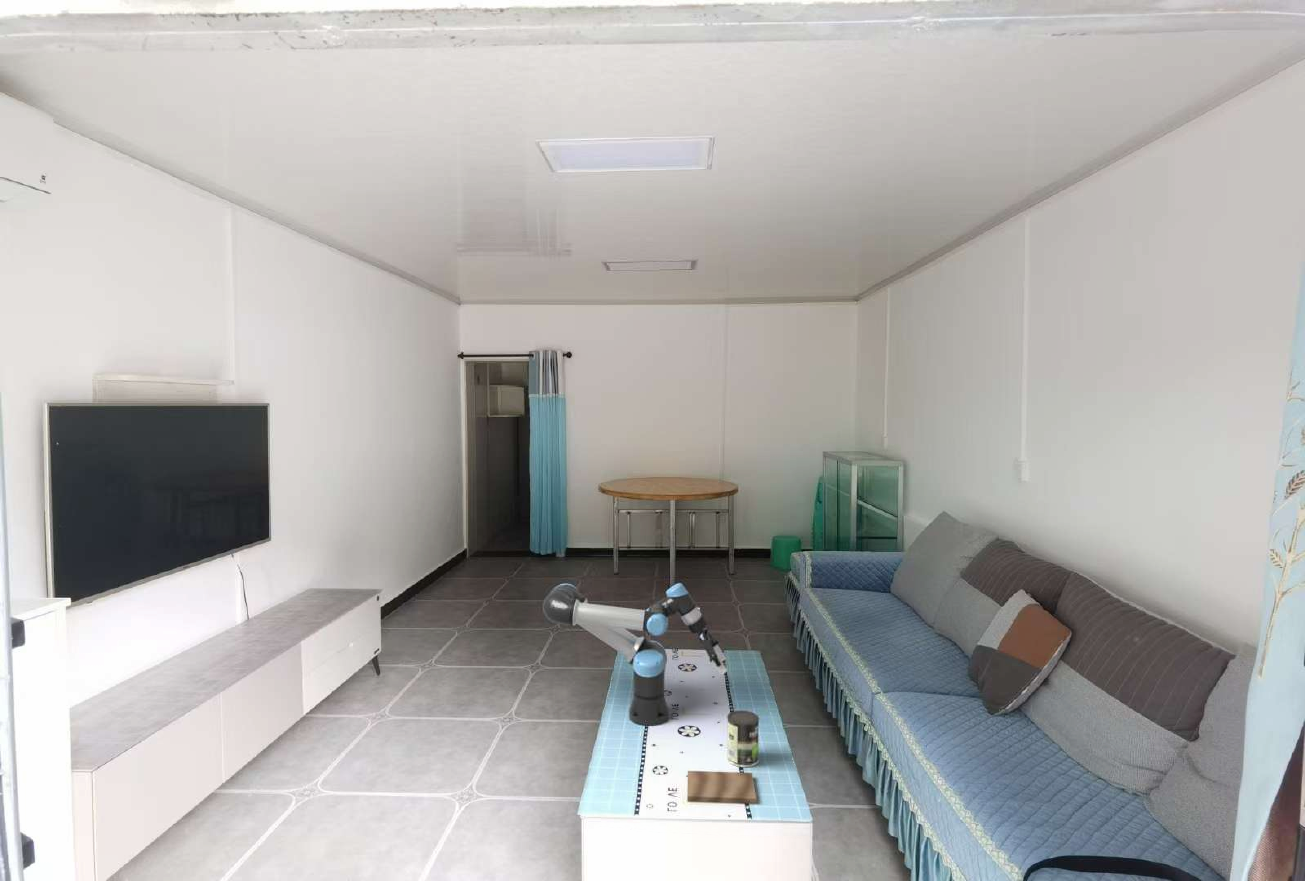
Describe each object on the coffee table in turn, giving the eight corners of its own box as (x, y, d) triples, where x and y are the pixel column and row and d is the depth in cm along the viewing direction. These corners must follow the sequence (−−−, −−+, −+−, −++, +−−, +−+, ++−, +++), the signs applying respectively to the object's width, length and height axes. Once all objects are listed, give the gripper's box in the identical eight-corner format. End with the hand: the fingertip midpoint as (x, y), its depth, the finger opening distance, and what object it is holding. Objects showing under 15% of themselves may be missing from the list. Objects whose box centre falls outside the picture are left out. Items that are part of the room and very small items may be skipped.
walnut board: (687, 801, 190) (687, 796, 190) (687, 775, 204) (687, 770, 204) (756, 803, 189) (756, 798, 189) (752, 777, 203) (752, 772, 203)
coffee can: (763, 756, 215) (763, 714, 215) (751, 770, 207) (751, 727, 206) (735, 748, 221) (735, 707, 220) (721, 762, 212) (721, 719, 212)
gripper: (702, 624, 243) (733, 672, 242) (702, 606, 268) (730, 650, 267) (685, 634, 244) (716, 683, 243) (687, 616, 268) (715, 660, 267)
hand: (723, 666), depth 255 cm, fingers open, 13 cm apart
